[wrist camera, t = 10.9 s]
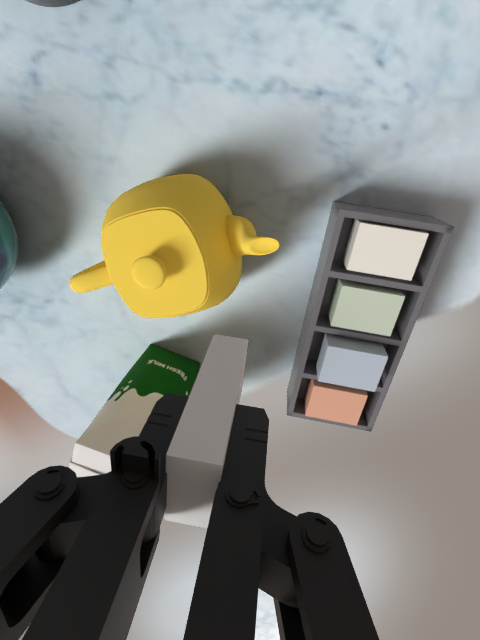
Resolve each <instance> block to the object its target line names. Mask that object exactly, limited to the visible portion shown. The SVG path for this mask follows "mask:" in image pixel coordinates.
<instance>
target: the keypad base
mask: <svg viewBox="0 0 480 640" xmlns="http://www.w3.org/2000/svg"><path fill="white" fill-rule="evenodd" d="M354 219H360V220H366V221H373V222H379V223H385V224H391V225H397V226H404V227H410V228H416V229H422V230H424V231H425V232H427V233H428V234H429V235H428V238H427V240H426V243H425V246H424V248H423V251H422V254H421V256H420V259H419V262H418V264H417V267H416V269H415V272H414V275H413V277H412V280H411V281H409V280H404V279H398V278H392V277H386V276H380V275H374V274H368V273H362V272H356V271H350V270H347V269H346V267H345V265H344V263H343V257H344V254H345V250H346V246H347V243H348V239H349V236H350V232H351V228H352V225H353V221H354ZM453 228H454V227H452V226H450V225H448V224H446V223H444V222H442V221H440V220H438V219H436V218H434V217H429V216H423V215H416V214H410V213H404V212H398V211H391V210H385V209H379V208H372V207H366V206H360V205H354V204H347V203H341V202H335V201H333V205H332V209H331V213H330V217H329V221H328V225H327V229H326V233H325V237H324V241H323V246H322V250H321V254H320V258H319V262H318V266H317V270H316V274H315V278H314V282H313V286H312V291H311V295H310V299H309V303H308V307H307V311H306V315H305V319H304V323H303V327H302V332H301V336H300V340H299V344H298V348H297V352H296V356H295V360H294V364H293V368H292V373H291V377H290V381H289V385H288V389H287V415H289V416H294V417H299V418H304V419H310V420H315V421H320V422H325V423H330V424H336V425H340V426H345V427H351V428H356V429H361V430H366V431H371V430H372V428H373V426H374V423H375V421H376V418H377V416H378V413H379V411H380V408H381V406H382V403H383V401H384V398H385V396H386V393H387V391H388V389H389V386H390V383H391V381H392V379H393V376H394V374H395V371H396V369H397V366H398V364H399V361H400V359H401V356H402V354H403V351H404V349H405V347H406V344H407V342H408V339H409V337H410V334H411V332H412V329H413V327H414V324H415V322H416V319H417V317H418V315H419V312H420V310H421V307H422V305H423V302H424V300H425V297H426V295H427V292H428V290H429V287H430V285H431V282H432V280H433V278H434V275H435V273H436V270H437V268H438V265H439V263H440V260H441V258H442V255H443V253H444V250H445V248H446V245H447V243H448V240H449V238H450V236H451V233H452V231H453ZM338 278H339V279H345V280H350V281H356V282H362V283H368V284H374V285H380V286H386V287H391V288H397V289H400V290H401V292H402V293H403V294H404V295H405V299H404V301H403V304H402V307H401V309H400V312H399V315H398V317H397V320H396V323H395V325H394V328H393V331H392V333H391V336H385V335H379V334H374V333H368V332H363V331H357V330H351V329H346V328H340V327H335V326H331V325H330V320H329V315H328V312H329V308H330V305H331V301H332V297H333V294H334V290H335V286H336V283H337V279H338ZM325 333H330V334H335V335H341V336H346V337H352V338H357V339H363V340H369V341H374V342H380V343H382V344H383V346H384V348H385V351H386V353H387V355H388V359H387V362H386V364H385V367H384V370H383V372H382V375H381V377H380V380H379V383H378V385H377V388H376V390H375V392H372V391H367V390H366V391H367V395H368V397H367V400H366V402H365V405H364V408H363V410H362V413H361V416H360V418H359V421H358V424H357V426H355V425H350V424H345V423H340V422H334V421H329V420H324V419H319V418H314V417H309V416H305V403H304V399H305V395H306V392H307V388H308V384H309V381H310V379H314V380H318V378H317V369H316V364H317V361H318V357H319V354H320V350H321V346H322V343H323V339H324V336H325Z"/></svg>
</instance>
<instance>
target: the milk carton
mask: <svg viewBox="0 0 480 640" xmlns="http://www.w3.org/2000/svg"><path fill="white" fill-rule="evenodd" d="M199 366H200V363H199V362H196V361H194V360H191V359H188V358H186V357H183V356H181V355H178V354H176V353H173V352H170V351H168V350H165V349H163V348H160V347H157V346H155V345H152V344H150V346H149V347H148V348H147V349H146V351H145V352H144V353H143V354H142V356H141V357H140V358H139V359H138V361H137V362H136V363H135V364H134V366H133V367H132V368H131V369H130V371H129V372H128V373H127V375H126V376H125V377H124V378H123V380H122V381H121V382H120V384H119V385H118V387H117V388H116V389H115V391H114V392H113V393H112V395H111V396H110V398H109V399H108V400H107V402H106V403H105V404H104V406H103V407H102V409H101V410H100V411H99V413H98V414H97V415H96V417H95V418H94V420H93V421H92V423H91V424H90V426H89V427H88V428H87V429H86V431H85V432H84V433H83V434H82V436H81V437H80V438H79V439H78V440H77V442H76V443H75V446H74V451H73V455H72V457H71V460H70V463H69V468H70V469H72V470H73V471H74V472H75V473H76V476H77V477H85V476H94V475H101V474H105V473H108V472H110V471H111V461H110V450H111V449H112V448H113V447H114V445H115V444H117V443H118V442H120V441H122V440H123V439H126V438H130V437H134V436H139V434H140V433H141V431H142V429H143V427H144V425H145V423H146V421H147V419H148V417H149V415H150V414H151V411H152V409H153V407H154V405H155V403H156V401H158V400H159V399H160V398H161V397H163V396H164V395H165V394H166V393H169V394H175V395H181V396H187V397H189V396H190V393H191V391H192V388H193V386H194V383H195V381H196V378H197V375H198V371H199Z"/></svg>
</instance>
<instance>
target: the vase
mask: <svg viewBox="0 0 480 640" xmlns="http://www.w3.org/2000/svg"><path fill="white" fill-rule="evenodd" d="M17 256H18V238H17V233H16V229H15V226H14V223H13V221H12V219H11V217H10V215H9V213H8V211H7V210H6V208H5V207H4V205H3V204H2V203H1V201H0V289H1V288H2V287H3V285H4V284H5V283H6V282H7V281H8V280H9V278H10V276H11V274H12V272H13V270H14V268H15V265H16V262H17Z"/></svg>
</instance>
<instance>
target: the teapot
mask: <svg viewBox="0 0 480 640" xmlns="http://www.w3.org/2000/svg"><path fill="white" fill-rule="evenodd" d="M101 243H102V251H103V256H104V260H105V261H103V262H101V263H98V264H96V265H94V266H92V267H90V268H88V269H85V270H83V271H81V272H79V273H77V274H76V275H74V276H73V277H72V278H71V280H70V285H71V288H72V289H73V290H74V291H75V292H78V293H85V292H89V291H93V290H96V289H99V288H102V287H105V286H109V285H112V284H114V286H115V287H116V289H117V291H118V293H119V294H120V296H121V297H122V299H123V300H124V302H125V303H126V304H127V306H128V307H129V308H130V309H131V310H132V311H133V312H134V313H136V314H137V315H139V316H141V317H145V318H166V317H176V316H182V315H188V314H192V313H196V312H199V311H202V310H205V309H208V308H211V307H213V306H216V305H218V304H220V303H221V302H223V301H224V300H226V299H227V298H228V297H229V296H230V295H231V294H232V293H233V291H234V290H235V288H236V287H237V285H238V283H239V280H240V277H241V271H242V256H243V255H266V254H270V253H273V252H275V251H276V250H278V248H279V247H280V244H279V242H278V241H277V240H276V239H274V238H271V237H261V236H257V234H256V230H255V228H254V226H253V224H252V223H251V222H250V221H249V220H248V219H246V218H244V217H241V216H235V215H233V214H232V212H231V210H230V208H229V206H228V204H227V202H226V201H225V199H224V198H223V196H222V195H221V193H220V192H219V191H218V189H217V188H216V187H215V186H214V185H213V184H212V183H211V182H210V181H208V180H207V179H205V178H204V177H201V176H199V175H195V174H177V175H171V176H165V177H161V178H157V179H154V180H151V181H148V182H145V183H143V184H140V185H138V186H136V187H134V188H132V189H130V190H129V191H127V192H125V193H123V194H122V195H120V196H119V197H118V198H117V199H116V200H115V201H114V202H113V203H112V204H111V206H110V207H109V209H108V210H107V212H106V215H105V218H104V221H103V226H102V233H101Z"/></svg>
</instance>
